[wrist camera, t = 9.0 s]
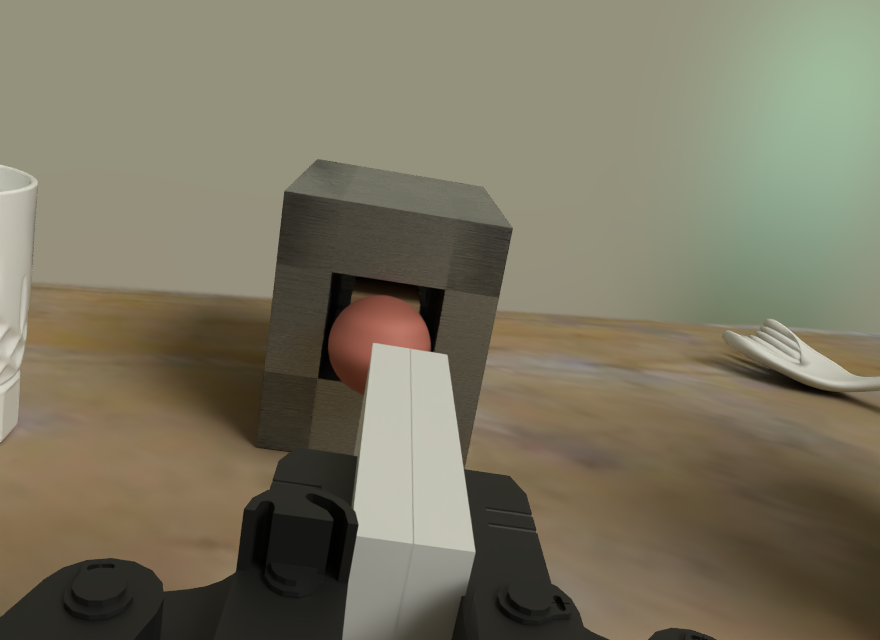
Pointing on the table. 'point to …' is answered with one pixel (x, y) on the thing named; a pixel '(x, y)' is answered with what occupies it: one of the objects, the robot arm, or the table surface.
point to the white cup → (14, 284)
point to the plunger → (375, 327)
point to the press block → (386, 258)
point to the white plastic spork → (797, 359)
